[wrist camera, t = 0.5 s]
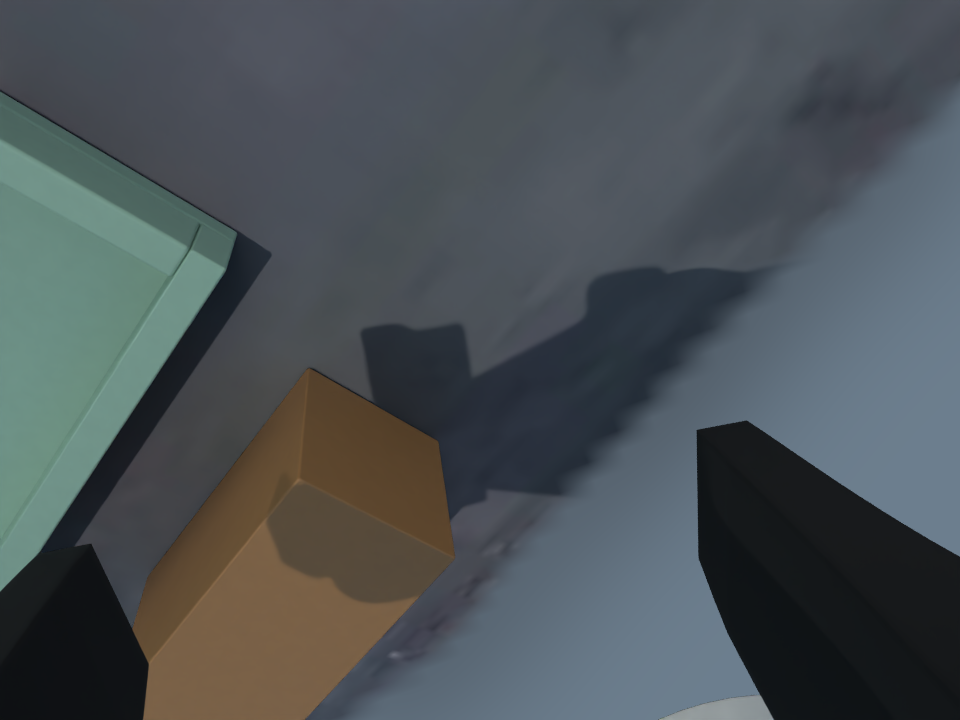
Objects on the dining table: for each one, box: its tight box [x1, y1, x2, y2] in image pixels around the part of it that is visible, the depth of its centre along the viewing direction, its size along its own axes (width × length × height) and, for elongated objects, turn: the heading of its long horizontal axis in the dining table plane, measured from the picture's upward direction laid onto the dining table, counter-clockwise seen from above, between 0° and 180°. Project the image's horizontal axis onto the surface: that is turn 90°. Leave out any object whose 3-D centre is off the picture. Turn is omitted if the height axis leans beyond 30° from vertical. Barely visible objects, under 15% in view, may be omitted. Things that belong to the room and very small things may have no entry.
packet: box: [132, 368, 455, 720], centre depth 21 cm, size 4×8×4 cm, turn 142°
